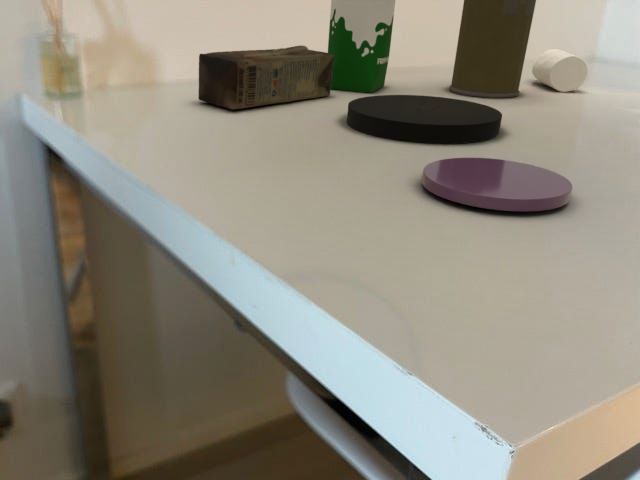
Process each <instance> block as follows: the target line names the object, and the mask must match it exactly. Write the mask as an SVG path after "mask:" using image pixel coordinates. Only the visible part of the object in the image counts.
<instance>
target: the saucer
mask: <svg viewBox="0 0 640 480" xmlns="http://www.w3.org/2000/svg"><path fill="white" fill-rule="evenodd" d="M421 185H422V186H423V187H424V188H425V189H426V190H427V191H429V192H430V193H432V194H434V195H436V196H438V197H441V198H443V199H445V200H448V201H451V202H454V203H458V204H462V205H465V206H469V207H476V208H480V209H486V210H487V209H488V210H495V211H505V212H542V211H549V210H550V211H551V210H554V209H558V208H561V207H563V206H565V205H567V204H568V203H569V202H570V200H571V197H572V192H573V184H572V182H571V181H570V180H569V179H568V178H567V177H565V176H563V175H562V174H560V173H558V172H555V171H552V170H549V169H547V168H544V167H541V166H537V165H534V164H528V163H524V162H520V161H515V160H508V159H500V158H490V157H452V158H451V157H450V158H444V159H439V160H434V161H432V162H429V163H427V164H426V165H424V167H423V170H422V174H421Z"/></svg>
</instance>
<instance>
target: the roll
mask: <svg viewBox="0 0 640 480" xmlns="http://www.w3.org/2000/svg"><path fill="white" fill-rule="evenodd" d="M531 68H532V70H531V73H532V75H533V76H534V78H535V79H536V80H537V81H539V82H540V83H542V84H543V85H545V86H548V87H550V88H552V89H554V90H556V91H558V92H561V93H568V92H572V91H575V90H577V89H579V88H580V87H582V86H583V84H584V83H585V82H586V80H587V77H588V74H589V72H588V66H587V64H586V62H585V61H584V60H583V58H581V57H580V56H576V55H574V54H572V53H570V52H567V51H565V50H563V49H562V50H561V49H558V48H557V49H556V48H554V49H546V50H545V51H544V52H542V53H541V54H540V55H539V56H538V57H537V58H536V59H535V60H534V63H533V65H532V67H531Z"/></svg>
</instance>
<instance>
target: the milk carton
mask: <svg viewBox="0 0 640 480" xmlns="http://www.w3.org/2000/svg"><path fill="white" fill-rule="evenodd" d="M395 6H396V0H330V13H329V29H328V42H327V43H328V44H327V53H330V54H333V55H334V62H333V77H332V85H331V90H338V91H339V90H340V91H349V92H358V93H368V94H372V93H374V92H376V91H379V90H380V89H382V88H383V87H385V83H386V82H385V81H386V77H387V71H388V67H389V66H388V65H389V59H390V51H391V44H392V43H391V42H392V35H393V26H394V17H395V8H396V7H395Z"/></svg>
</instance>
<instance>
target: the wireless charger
mask: <svg viewBox="0 0 640 480" xmlns="http://www.w3.org/2000/svg"><path fill="white" fill-rule="evenodd" d="M502 119H503V114H502V112H501V111H500V110H499V109H497V108H494V107H491V106H489V105H486V104H482V103H479V102H474V101H469V100H464V99H459V98H451V97H442V96H434V95H433V96H431V95H418V94H381V95H369V96H363V97H359V98H355V99H352V100H350V101H349V102H348V105H347V115H346V124H347V125H348V126H349V127H350V128H352V129H354V130H355V131H358V132H360V133H364V134H366V135H370V136H374V137H378V138H383V139H388V140H395V141H402V142H410V143H421V144H436V145H437V144H438V145H439V144H440V145H445V144H446V145H452V144H453V145H454V144H471V143H472V144H473V143H478V142H479V143H480V142H484V141H489V140H492V139H494V138H497V137H498V136H499V134H500V130H501V124H502Z"/></svg>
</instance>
